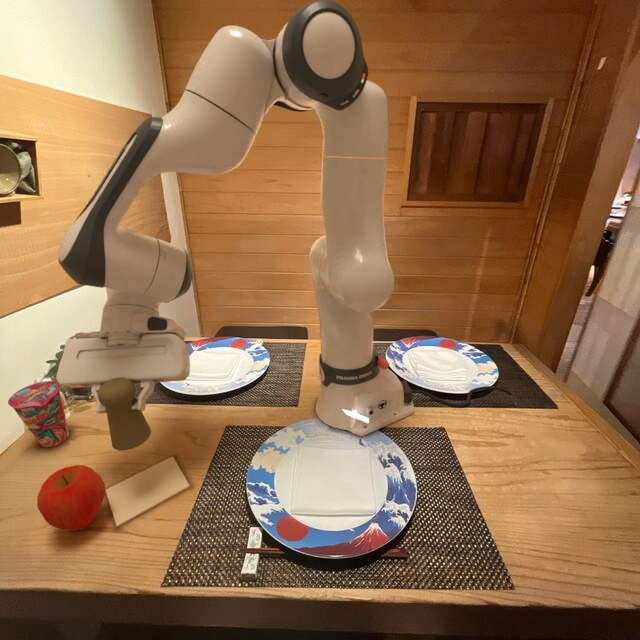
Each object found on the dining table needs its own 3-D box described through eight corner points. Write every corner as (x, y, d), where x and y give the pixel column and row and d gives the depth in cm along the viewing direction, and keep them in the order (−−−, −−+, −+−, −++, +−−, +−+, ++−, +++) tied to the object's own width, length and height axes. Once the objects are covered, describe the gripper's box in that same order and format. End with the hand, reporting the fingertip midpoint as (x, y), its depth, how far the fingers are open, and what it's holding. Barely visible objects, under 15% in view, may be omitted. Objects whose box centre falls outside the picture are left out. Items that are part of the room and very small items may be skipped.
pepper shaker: (135, 453, 57) (117, 396, 52) (103, 448, 58) (81, 392, 53) (158, 426, 62) (143, 373, 57) (128, 422, 63) (110, 370, 58)
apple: (123, 499, 62) (106, 453, 58) (96, 547, 55) (73, 499, 50) (75, 500, 63) (53, 454, 58) (41, 549, 55) (13, 500, 50)
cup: (20, 450, 74) (-4, 403, 69) (56, 422, 81) (37, 378, 76) (56, 457, 72) (34, 409, 67) (90, 428, 79) (72, 383, 74)
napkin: (173, 457, 71) (172, 455, 71) (189, 486, 64) (189, 485, 64) (106, 491, 64) (105, 489, 64) (117, 527, 58) (116, 526, 57)
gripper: (55, 327, 58) (39, 415, 53) (183, 320, 59) (178, 405, 54) (78, 338, 64) (66, 418, 59) (194, 331, 65) (191, 409, 60)
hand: (121, 411), depth 57 cm, fingers closed on pepper shaker, 4 cm apart
